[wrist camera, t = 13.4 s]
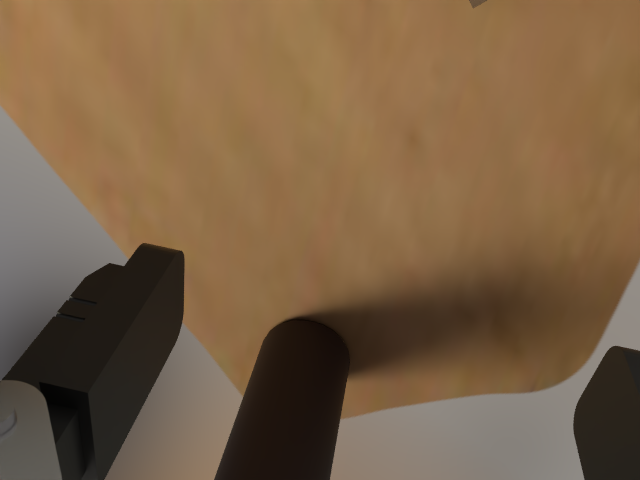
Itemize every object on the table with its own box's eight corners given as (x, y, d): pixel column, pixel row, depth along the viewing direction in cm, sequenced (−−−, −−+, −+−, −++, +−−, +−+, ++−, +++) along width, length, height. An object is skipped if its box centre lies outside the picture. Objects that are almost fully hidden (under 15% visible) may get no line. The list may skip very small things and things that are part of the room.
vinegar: (279, 386, 49) (198, 665, 32) (250, 323, 45) (143, 596, 29) (360, 379, 47) (318, 671, 30) (336, 311, 43) (273, 599, 27)
